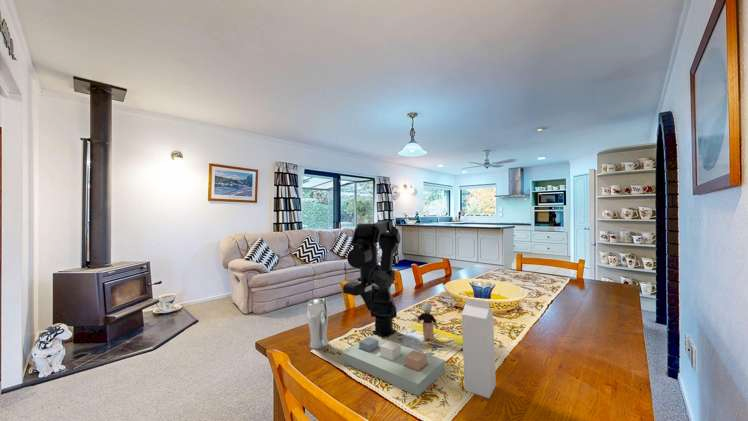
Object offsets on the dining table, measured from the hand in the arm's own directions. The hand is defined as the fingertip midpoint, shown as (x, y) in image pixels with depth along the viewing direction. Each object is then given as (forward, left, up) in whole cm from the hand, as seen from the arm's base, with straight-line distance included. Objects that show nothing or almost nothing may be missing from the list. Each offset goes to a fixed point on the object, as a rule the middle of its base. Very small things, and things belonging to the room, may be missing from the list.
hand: (370, 310), depth 94 cm
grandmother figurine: (-17, +11, -13) cm, 24 cm away
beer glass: (+8, -17, -13) cm, 23 cm away
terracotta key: (+4, +19, -12) cm, 23 cm away
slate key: (+4, +2, -12) cm, 13 cm away
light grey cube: (+4, +11, -11) cm, 16 cm away
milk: (-1, +35, -13) cm, 37 cm away
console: (+4, +11, -13) cm, 17 cm away
